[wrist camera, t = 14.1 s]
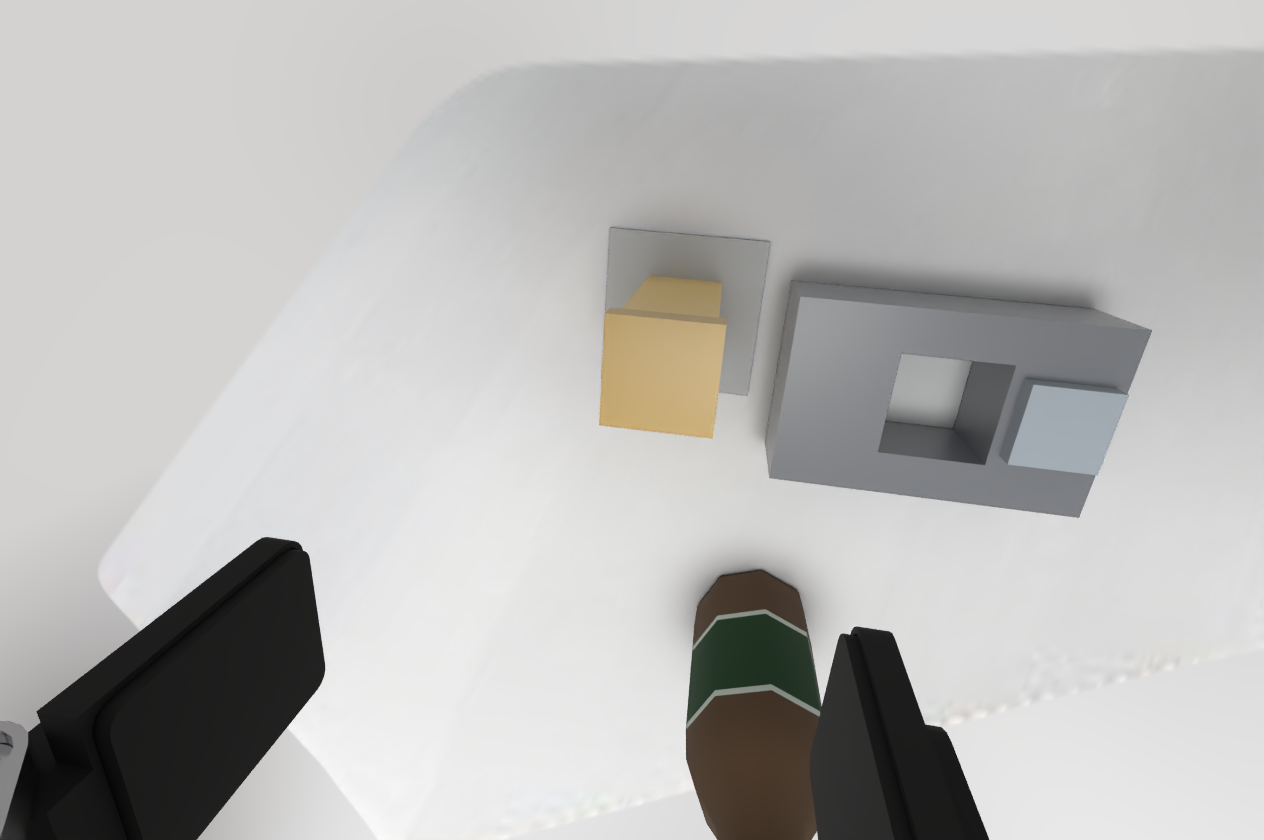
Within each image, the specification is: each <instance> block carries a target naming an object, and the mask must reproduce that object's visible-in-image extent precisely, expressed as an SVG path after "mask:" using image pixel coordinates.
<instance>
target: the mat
mask: <svg viewBox="0 0 1264 840" xmlns="http://www.w3.org/2000/svg"><path fill="white" fill-rule="evenodd" d="M769 248H770V242H768V241H757V240H745V239H734V238H722V237H711V236H699V235H688V234H677V233H665V232H654V231H642V230H631V229H620V228H610V231H609V249H608V267H607V285H606V304H605V313H606V311H607V310H608V309H609V308H610V307H612V308H623V307H624V306H625V305H626V303H627V302H628V301H629V300H630V298H631V297H632V296H633V295H634V294H635V292H636V291H637V290H638V289H639V287H640V286H641V285H642V284H643V282H644V281H645V280H646V279H647V277H648V276H659V277H671V278H682V279H693V280H704V281H715V282H722V290H721V302H720V314H719V318H727V327H726V335H725V343H724V351H723V359H722V367H721V375H720V383H719V391H718V392H719V393H728V394H736V395H745V396H748V389H749V382H750V376H751V369H752V362H753V356H754V349H755V342H756V335H757V329H758V322H759V315H760V309H761V302H762V295H763V288H764V282H765V275H766V268H767V262H768V255H769ZM602 360H603V358H602ZM601 379H602V376H601Z"/></svg>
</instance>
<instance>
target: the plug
mask: <svg viewBox="0 0 1264 840" xmlns="http://www.w3.org/2000/svg"><path fill="white" fill-rule="evenodd" d="M721 290H722V282H715V281H704V280H693V279H682V278H671V277H659V276H648V277H647V279H646V280H645V281H644V282H643V284H642V285H641V286H640V287H639V289H638V290H637V291H636V292H635V294H634V295H633V296H632V297H631V298H630V300H629V301H628V302H627V303H626V305H625V306H624V307H623V308H612V307H610V308H609V309H608V310H607V311H606V313H605V320H604V340H603V360H602V381H601V401H600V421H599V425H602V426H611V427H619V428H628V429H636V430H645V431H653V432H662V433H670V434H679V435H687V436H696V437H704V438H713V431H714V423H715V415H716V407H717V399H718V391H719V383H720V375H721V367H722V359H723V351H724V343H725V335H726V327H727V318H719V314H720V302H721Z"/></svg>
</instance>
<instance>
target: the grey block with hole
mask: <svg viewBox="0 0 1264 840" xmlns="http://www.w3.org/2000/svg"><path fill="white" fill-rule="evenodd" d="M1151 332H1152V330H1149V329H1147V328H1144V327H1141V326H1139V325H1136V324H1133V323H1131V322H1128V321H1125V320H1122V319H1120V318H1117V317H1114V316H1112V315H1109V314H1106V313H1104V312H1101V311H1098V310H1096V309H1088V308H1078V307H1067V306H1057V305H1046V304H1035V303H1025V302H1014V301H1003V300H993V299H982V298H971V297H961V296H950V295H939V294H929V293H918V292H908V291H897V290H886V289H876V288H865V287H854V286H844V285H833V284H822V283H812V282H801V281H791V287H790V293H789V299H788V305H787V311H786V317H785V323H784V329H783V335H782V341H781V347H780V353H779V360H778V366H777V372H776V378H775V384H774V390H773V396H772V402H771V408H770V414H769V420H768V426H767V432H766V438H765V447H766V455H767V463H768V471H769V478H774V479H781V480H789V481H797V482H805V483H812V484H820V485H828V486H836V487H844V488H851V489H859V490H867V491H875V492H883V493H890V494H898V495H906V496H914V497H921V498H929V499H937V500H945V501H953V502H960V503H968V504H976V505H984V506H992V507H999V508H1007V509H1015V510H1023V511H1030V512H1038V513H1046V514H1054V515H1062V516H1069V517H1077V518H1079V516H1080V514H1081V511H1082V509H1083V506H1084V504H1085V501H1086V498H1087V496H1088V493H1089V491H1090V488H1091V486H1092V483H1093V481H1094V478H1095V475H1098V473H1099V470H1100V468H1101V465H1102V462H1103V460H1104V457H1105V455H1106V452H1107V450H1108V447H1109V445H1110V442H1111V439H1112V437H1113V434H1114V432H1115V429H1116V427H1117V424H1118V422H1119V419H1120V417H1121V414H1122V411H1123V409H1124V406H1125V404H1126V401H1127V399H1128V396H1129V395H1128V394H1127V393H1128V391H1129V388H1130V386H1131V383H1132V381H1133V378H1134V376H1135V373H1136V370H1137V368H1138V365H1139V363H1140V360H1141V358H1142V355H1143V353H1144V350H1145V347H1146V345H1147V342H1148V340H1149V337H1150V335H1151ZM901 353H902V354H911V355H921V356H930V357H940V358H950V359H959V360H969V361H973V362H972V366H971V369H970V373H969V376H968V380H967V383H966V387H965V390H964V394H963V397H962V401H961V404H960V408H959V411H958V415H957V418H956V422H955V425H954V429H949V428H940V427H931V426H923V425H914V424H906V423H897V422H888V421H885V420H886V415H887V411H888V407H889V403H890V399H891V395H892V390H893V386H894V382H895V378H896V374H897V370H898V366H899V361H900V357H901Z"/></svg>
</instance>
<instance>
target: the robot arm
mask: <svg viewBox="0 0 1264 840" xmlns="http://www.w3.org/2000/svg"><path fill="white" fill-rule="evenodd" d="M324 674H325V661H324V654H323V647H322V640H321V633H320V627H319V620H318V613H317V606H316V599H315V592H314V585H313V578H312V572H311V565H310V558H309V555H308V554H307V552H305V551H303V549H302V546H301V545H300V544H299V543H298V542H295V541H290V540H283V539H277V538H270V537H265V538H261V539H259V540H258V541H256V542H255V543H254V544H252V545H251V546H250V547H249V548H247V549H246V550H245V551H243V552H242V553H241V554H239V555H238V556H237V557H236V558H234V559H233V560H232V561H230V562H229V563H228V564H227V565H225V566H224V567H223V568H221V569H220V570H219V571H217V572H216V573H215V574H214V575H212V576H211V577H210V578H208V579H207V580H206V581H205V582H203V583H202V584H201V585H199V586H198V587H197V588H196V589H194V590H193V591H192V592H190V593H189V594H188V595H186V596H185V597H184V598H183V599H181V600H180V601H179V602H177V603H176V604H175V605H174V606H172V607H171V608H170V609H168V610H167V611H166V612H164V613H163V614H162V615H161V616H159V617H158V618H157V619H155V620H154V621H153V622H152V623H150V624H149V625H148V626H146V627H145V628H144V629H143V630H141V631H140V632H139V633H137V634H136V635H135V636H133V637H132V638H131V639H130V640H128V641H127V642H126V643H124V644H123V645H122V646H121V647H119V648H118V649H117V650H115V651H114V652H113V653H111V654H110V655H109V656H108V657H106V658H105V659H104V660H103V661H101V662H100V663H99V664H97V665H96V666H95V667H94V668H92V669H91V670H90V671H88V672H87V673H86V674H84V675H83V676H82V677H80V678H79V679H78V680H77V681H75V682H74V683H73V684H71V685H70V686H69V687H68V688H66V689H65V690H64V691H62V692H61V693H60V694H58V695H57V696H56V697H55V698H53V699H52V700H51V701H49V702H48V703H47V704H46V705H44V706H43V707H42V708H40V709H39V710H38V711H37V714H38V717H39V719H40V722H41V723H40V724H38V725H37V726H36V727H35V728H33V729H32V730H31V731H29V732H27V731H26V730H25V729H24V727H23V726H22V725H19V724H16V723H13V722H10V721H0V840H196V839H198V837H199V836H200V835H201V834H202V832H203V831H204V830H205V829H206V827H207V826H208V825H209V823H210V822H211V821H212V820H213V819H214V817H215V816H216V815H217V814H218V812H219V811H220V810H221V809H222V807H223V806H224V805H225V804H226V803H227V801H228V800H229V799H230V797H231V796H232V795H233V794H234V792H235V791H236V790H237V789H238V787H239V786H240V785H241V784H242V782H243V781H244V780H245V779H246V778H247V776H248V775H249V774H250V773H251V771H252V770H253V769H254V768H255V766H256V765H257V764H258V763H259V761H260V760H261V759H262V758H263V756H264V755H265V754H266V752H267V751H268V750H269V749H270V748H271V746H272V745H273V744H274V743H275V741H276V740H277V739H278V738H279V736H280V735H281V734H282V733H283V731H284V730H285V729H286V728H287V727H288V725H289V724H290V723H291V722H292V720H293V719H294V718H295V717H296V715H297V714H298V713H299V712H300V710H301V709H302V708H303V707H304V705H305V704H306V703H307V702H308V700H309V699H310V698H311V697H312V695H313V694H314V693H315V692H316V690H317V689H318V688H319V686H320V684H321V682H322V680H323V677H324ZM810 780H811V787H812V795H813V803H814V810H815V818H816V826H817V833H818V840H989V838H988V835H987V833H986V830H985V827H984V825H983V822H982V820H981V817H980V814H979V812H978V810H977V807H976V804H975V802H974V799H973V796H972V794H971V791H970V789H969V786H968V784H967V781H966V778H965V776H964V773H963V771H962V768H961V766H960V763H959V761H958V758H957V755H956V753H955V750H954V747H953V745H952V742H951V741H950V738H949V736H948V734H947V732H945V730H944V729H943V728H942V727H937V726H931V725H925V723H924V720H923V717H922V714H921V712H920V709H919V706H918V703H917V700H916V697H915V695H914V692H913V689H912V686H911V683H910V680H909V678H908V675H907V672H906V669H905V666H904V663H903V661H902V658H901V655H900V652H899V649H898V646H897V644H896V641H895V638H894V636H893V634H892V633H891V632H889V631H882V630H876V629H869V628H863V627H854V628H853V630H852V632H851V635H848V634H841V635H840V636H839V639H838V643H837V647H836V651H835V655H834V659H833V663H832V667H831V671H830V676H829V680H828V684H827V688H826V692H825V696H824V700H823V704H822V708H821V712H820V716H819V720H818V725H817V729H816V733H815V737H814V741H813V745H812V749H811V754H810Z"/></svg>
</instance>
